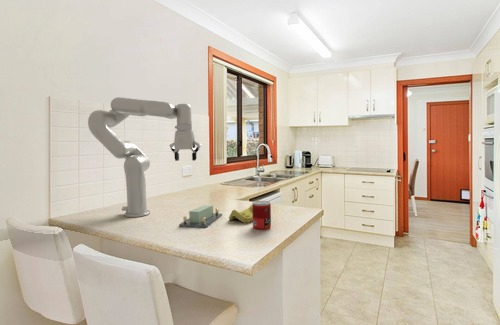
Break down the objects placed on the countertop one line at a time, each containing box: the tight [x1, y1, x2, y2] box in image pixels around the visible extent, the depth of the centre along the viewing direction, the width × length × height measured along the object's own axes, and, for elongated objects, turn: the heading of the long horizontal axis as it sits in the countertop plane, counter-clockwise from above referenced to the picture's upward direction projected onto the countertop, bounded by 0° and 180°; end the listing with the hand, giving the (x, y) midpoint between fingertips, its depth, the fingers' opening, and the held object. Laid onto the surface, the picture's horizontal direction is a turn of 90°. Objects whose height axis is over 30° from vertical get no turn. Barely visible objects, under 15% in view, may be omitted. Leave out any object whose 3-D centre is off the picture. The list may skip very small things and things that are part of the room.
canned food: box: [251, 200, 272, 231], centre depth 128 cm, size 8×8×11 cm
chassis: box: [178, 207, 223, 229], centre depth 141 cm, size 13×22×4 cm, turn 167°
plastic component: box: [228, 199, 261, 224], centre depth 145 cm, size 20×7×10 cm
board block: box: [188, 204, 214, 223], centre depth 141 cm, size 5×14×5 cm, turn 160°
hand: (185, 160), depth 155 cm, fingers open, 9 cm apart
